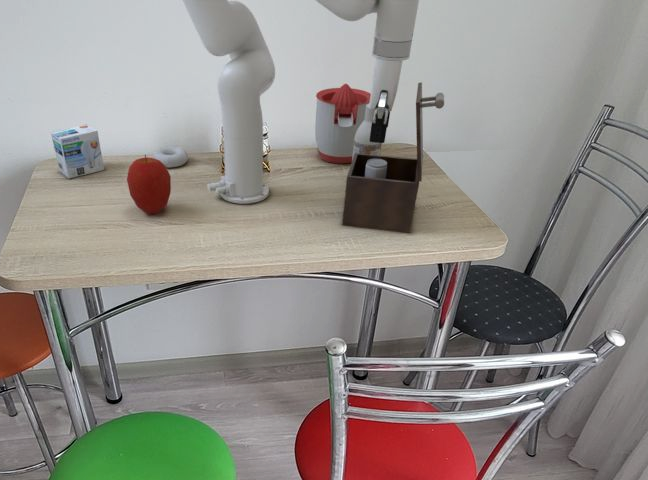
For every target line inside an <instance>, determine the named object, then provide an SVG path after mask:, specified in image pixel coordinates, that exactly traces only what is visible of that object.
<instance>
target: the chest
mask: <svg viewBox="0 0 648 480" xmlns="http://www.w3.org/2000/svg"><path fill="white" fill-rule="evenodd" d="M370 159H382V160H385V161H386V162H387V172H386V179H379V178H369V177H365V169H366V164H367V161H368V160H370ZM346 175H347V176H346V181H345V182H346V183H345V194H344V201H343V202H344V205H343V212H342V213H343V214H342V224H341V225H342V226H344V227H355V228H364V229H371V230H379V231H389V232H397V233H405V234H411V230H412V225H413V224H412V223H413V220H414V219H413V218H414V214H415V208H416V203H417V202H416V201H417V197H418V193H419V188H420V182H418V178H417V158H414V157H413V158H412V157H403V156H393V155H392V156H391V155H381V154H380V155H371V154H360V153H355V154H354V157H353V160H352V163H351V164H350V167H349V169H348V172H347V174H346Z"/></svg>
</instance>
